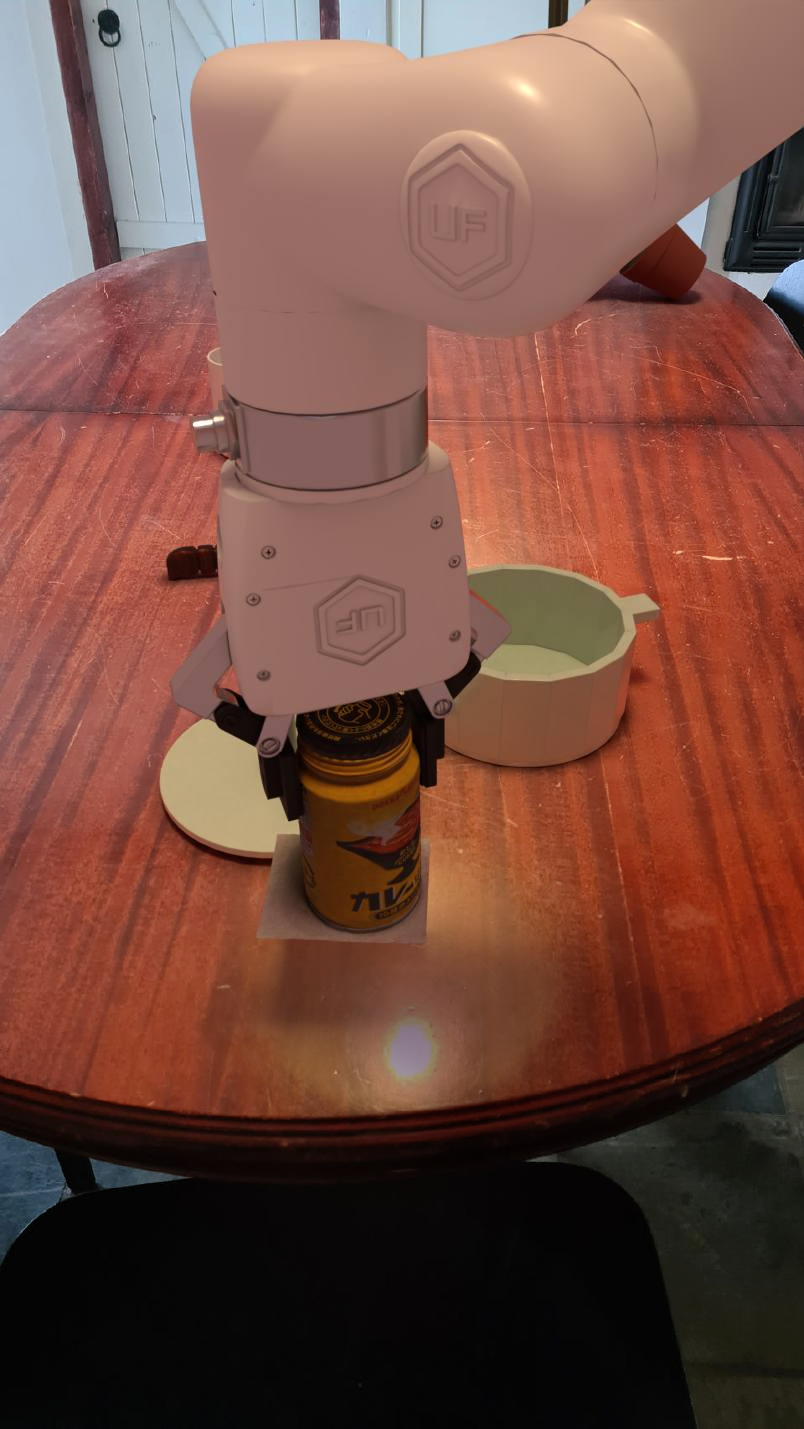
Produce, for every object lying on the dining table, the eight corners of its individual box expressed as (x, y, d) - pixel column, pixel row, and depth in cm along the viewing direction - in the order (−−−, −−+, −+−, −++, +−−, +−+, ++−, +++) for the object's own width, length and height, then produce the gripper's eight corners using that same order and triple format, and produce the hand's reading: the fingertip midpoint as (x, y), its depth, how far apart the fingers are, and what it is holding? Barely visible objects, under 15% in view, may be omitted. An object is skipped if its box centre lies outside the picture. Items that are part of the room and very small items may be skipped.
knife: (353, 560, 96) (351, 531, 94) (354, 565, 95) (353, 536, 93) (169, 576, 94) (164, 546, 92) (168, 581, 93) (164, 551, 91)
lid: (437, 830, 67) (439, 757, 64) (183, 892, 63) (168, 817, 59) (362, 689, 80) (360, 621, 76) (146, 733, 76) (132, 663, 72)
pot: (693, 733, 75) (711, 647, 71) (422, 796, 70) (423, 708, 65) (594, 624, 87) (604, 545, 83) (356, 671, 82) (352, 589, 77)
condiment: (426, 945, 51) (424, 757, 44) (256, 940, 51) (226, 753, 44) (430, 841, 57) (429, 660, 50) (277, 838, 57) (254, 658, 50)
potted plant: (737, 137, 170) (525, -30, 158) (862, 94, 134) (599, -127, 122) (585, 383, 182) (377, 245, 170) (662, 404, 146) (405, 231, 134)
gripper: (111, 504, 34) (191, 883, 45) (579, 429, 39) (550, 792, 49) (90, 426, 40) (165, 779, 51) (500, 368, 44) (489, 705, 55)
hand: (354, 783), depth 50 cm, fingers closed on condiment, 6 cm apart
